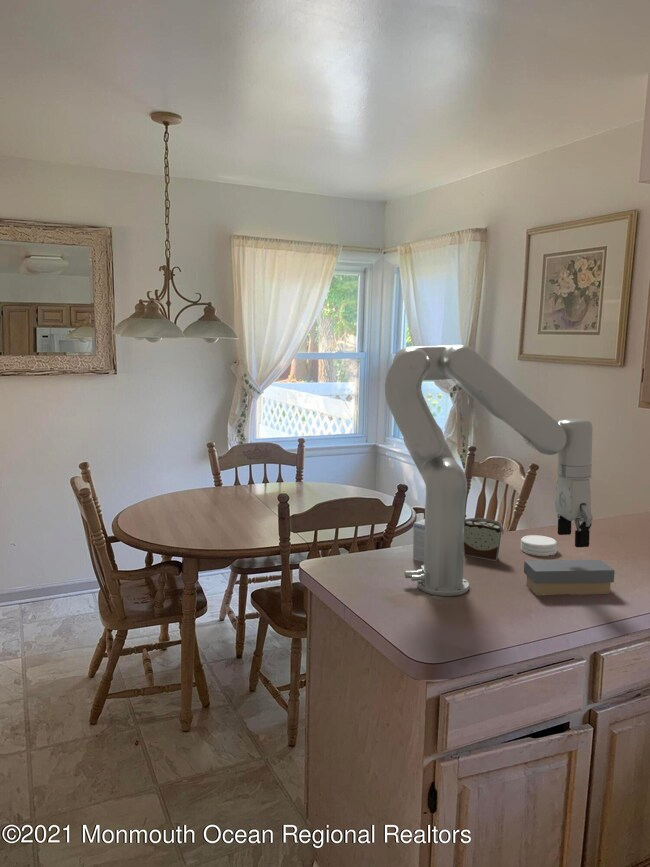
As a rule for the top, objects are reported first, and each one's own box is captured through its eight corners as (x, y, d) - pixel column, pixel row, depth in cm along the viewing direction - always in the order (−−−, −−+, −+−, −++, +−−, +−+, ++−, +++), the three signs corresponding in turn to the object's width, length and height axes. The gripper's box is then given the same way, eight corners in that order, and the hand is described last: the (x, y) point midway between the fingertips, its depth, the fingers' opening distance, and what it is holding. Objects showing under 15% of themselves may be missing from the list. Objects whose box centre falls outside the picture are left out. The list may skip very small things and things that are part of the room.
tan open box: (536, 596, 151) (537, 572, 150) (526, 586, 157) (527, 563, 156) (609, 594, 152) (611, 570, 151) (597, 584, 158) (598, 561, 157)
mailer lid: (534, 583, 150) (535, 571, 150) (523, 572, 158) (524, 560, 157) (613, 582, 151) (614, 570, 150) (599, 571, 158) (600, 559, 158)
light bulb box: (431, 550, 184) (432, 514, 183) (452, 554, 180) (452, 518, 178) (411, 559, 176) (412, 522, 175) (433, 565, 172) (433, 526, 170)
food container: (508, 555, 179) (509, 521, 178) (501, 562, 174) (503, 526, 172) (466, 548, 186) (467, 515, 184) (459, 554, 180) (460, 520, 179)
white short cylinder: (513, 548, 186) (513, 537, 185) (539, 544, 190) (539, 532, 189) (537, 559, 177) (538, 547, 176) (564, 554, 181) (565, 542, 181)
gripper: (544, 464, 159) (543, 530, 161) (574, 479, 142) (573, 552, 144) (574, 463, 159) (572, 529, 161) (607, 477, 142) (605, 551, 144)
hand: (572, 540), depth 153 cm, fingers open, 9 cm apart
